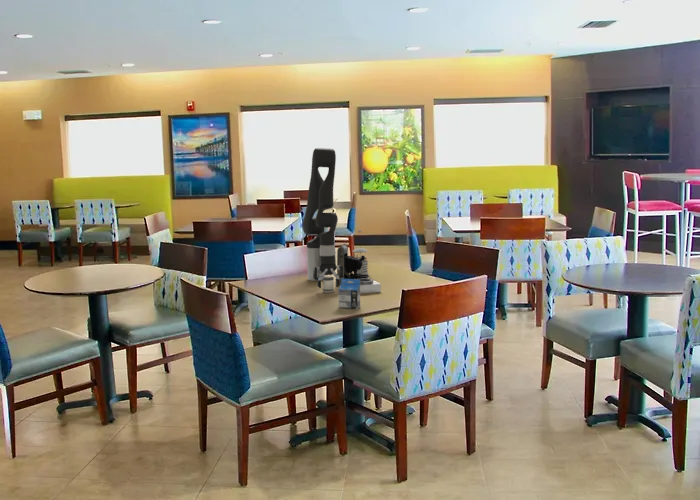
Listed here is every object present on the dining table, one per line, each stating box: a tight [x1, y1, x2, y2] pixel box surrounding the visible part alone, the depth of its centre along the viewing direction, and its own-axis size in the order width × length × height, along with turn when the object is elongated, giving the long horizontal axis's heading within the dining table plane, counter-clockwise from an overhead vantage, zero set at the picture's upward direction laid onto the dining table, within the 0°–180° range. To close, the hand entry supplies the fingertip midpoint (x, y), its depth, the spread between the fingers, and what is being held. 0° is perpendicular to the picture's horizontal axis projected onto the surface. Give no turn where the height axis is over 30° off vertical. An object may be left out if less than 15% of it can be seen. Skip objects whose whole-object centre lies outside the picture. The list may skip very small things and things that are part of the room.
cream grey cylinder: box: [322, 276, 335, 294], centre depth 342 cm, size 5×5×7 cm
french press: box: [352, 229, 371, 277], centre depth 380 cm, size 10×12×25 cm
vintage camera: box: [336, 243, 370, 286], centre depth 360 cm, size 10×16×20 cm, turn 79°
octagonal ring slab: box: [348, 278, 382, 295], centre depth 340 cm, size 9×15×6 cm, turn 106°
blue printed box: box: [338, 279, 361, 310], centre depth 306 cm, size 9×4×12 cm, turn 69°
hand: (328, 287), depth 342 cm, fingers open, 8 cm apart
